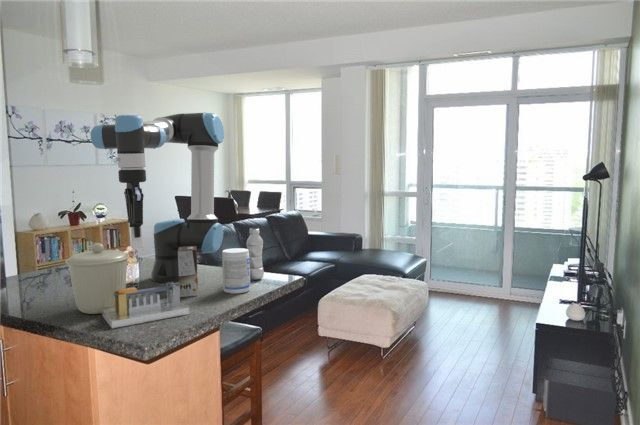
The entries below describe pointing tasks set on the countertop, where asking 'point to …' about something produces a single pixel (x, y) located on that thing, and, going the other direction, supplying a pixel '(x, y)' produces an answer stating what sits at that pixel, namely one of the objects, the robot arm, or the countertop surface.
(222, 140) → the robot arm
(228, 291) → the supplement tub
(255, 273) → the plastic bottle
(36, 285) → the countertop surface
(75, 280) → the canister
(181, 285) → the coffee box
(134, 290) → the strap
